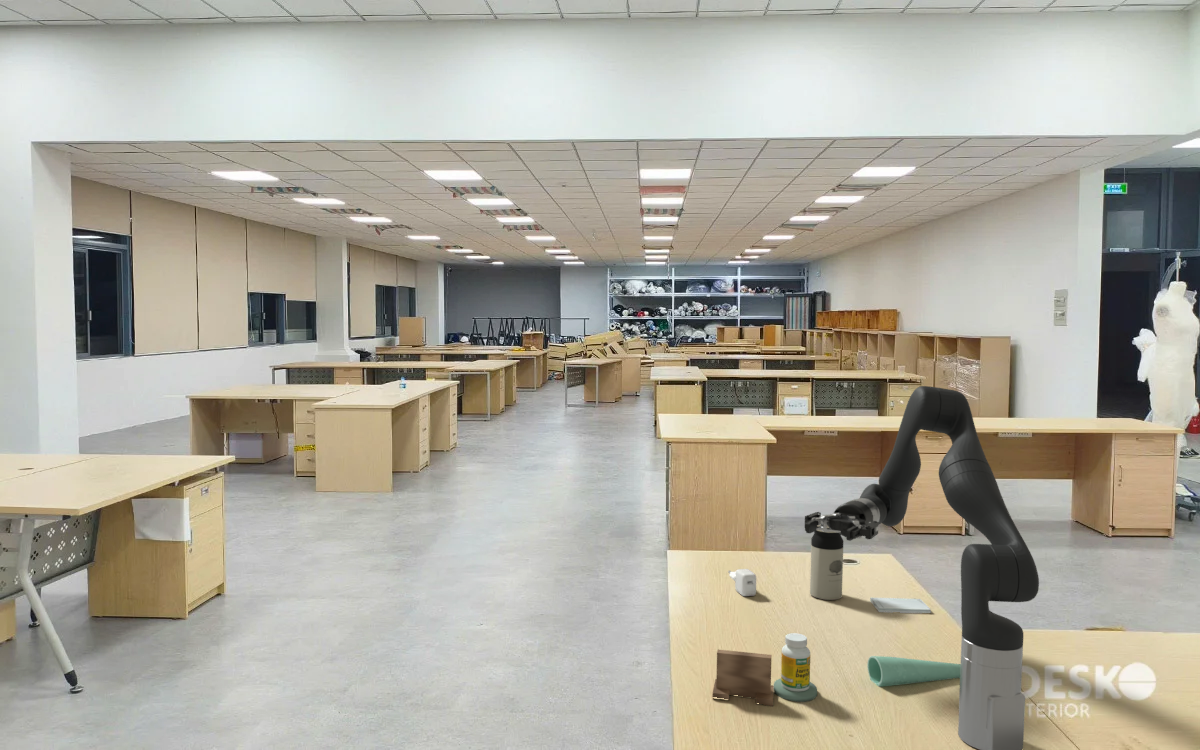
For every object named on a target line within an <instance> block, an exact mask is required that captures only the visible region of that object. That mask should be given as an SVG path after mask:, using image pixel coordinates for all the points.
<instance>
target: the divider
mask: <svg viewBox="0 0 1200 750" xmlns="http://www.w3.org/2000/svg"><path fill="white" fill-rule="evenodd" d="M771 681H772V654H767V653H766V654H765V653H756V652H747V651H738V650H736V651H735V650H726V649H717V651H716V678H715V680H714V684H713V688H712V696H711V698H712V697H717V698H724V699H729V700H730V696H729V695H738V696H743V697H742V698H745V697H751V698H750V699H754V698H756V699H755V701H756V702H755V703H759V704H764V705H763V706H767V705H768V706H769V707H774V693H775V692H774V684H773V685H772V682H771Z"/></svg>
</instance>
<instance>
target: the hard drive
mask: <svg viewBox="0 0 1200 750" xmlns="http://www.w3.org/2000/svg"><path fill="white" fill-rule="evenodd" d="M869 602H870V603H871V604H872V605H873V607H874V608H875V609H876V610H877V612H879V613H893V612H900V613H899V614H922V613H931V614H932V611H931V610H932V609H931V608H930V606H928V605H927V604H926V603H925V602H924V601H923V600H922V599H921V598H906V597H905V598H903V597H902V598H901V597H900V598H899V597H897V598H896V597H895V598H894V597H870V599H869Z"/></svg>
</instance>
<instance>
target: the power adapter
mask: <svg viewBox="0 0 1200 750" xmlns="http://www.w3.org/2000/svg"><path fill="white" fill-rule="evenodd" d="M727 572H728V574H729V577H730V579H732V580H733V581H734V582H735V583H734V588H735V591H736V592H737V593H739V594H740V595H741V596H742V597H752V596H753V597H754V596H756V594H757V575H756V574H755V573H754V571H752V570H751V569H749V568H739V569H736V570H735V571H731V570H728V571H727Z"/></svg>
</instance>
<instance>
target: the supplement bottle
mask: <svg viewBox="0 0 1200 750" xmlns="http://www.w3.org/2000/svg"><path fill="white" fill-rule="evenodd" d="M784 642H785V645H783V646H782V648H781V657H780V659H781V660H780V661H781V662H780V663H781V664H780V665H781V669H780V672H781V673H780V674H781V675H780V679H781V684H782V686H783V687H784V688H785V689H787V690H790V691H795V692H802V691H806V690H807V689H808V688H809V685H810V682H811V650H810V648H809V647H808V646H807V645H808V638H807V636H806V635H805V634H802V633H798V632H797V633H796V632H793V633H788V634H786V635H785V639H784Z"/></svg>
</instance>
